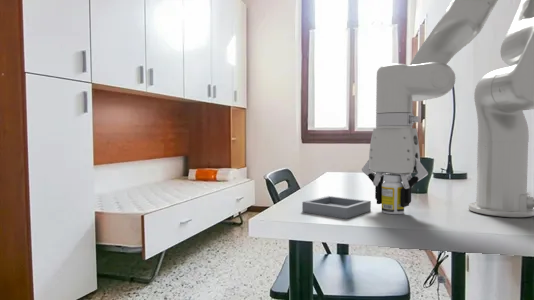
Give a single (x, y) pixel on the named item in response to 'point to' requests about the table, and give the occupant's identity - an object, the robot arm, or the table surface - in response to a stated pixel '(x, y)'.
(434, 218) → the table surface
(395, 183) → the supplement bottle
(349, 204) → the tray
